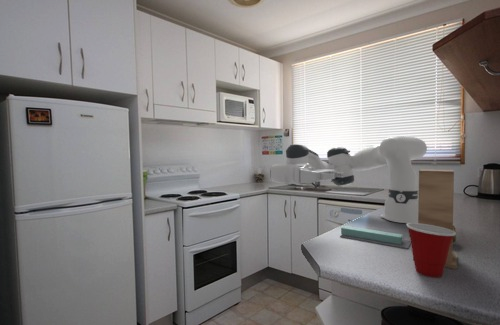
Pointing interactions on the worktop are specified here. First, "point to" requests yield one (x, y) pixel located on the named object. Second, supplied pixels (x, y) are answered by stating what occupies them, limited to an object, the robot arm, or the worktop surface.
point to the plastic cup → (430, 247)
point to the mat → (404, 244)
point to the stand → (437, 203)
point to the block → (372, 234)
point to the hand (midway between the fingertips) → (339, 175)
